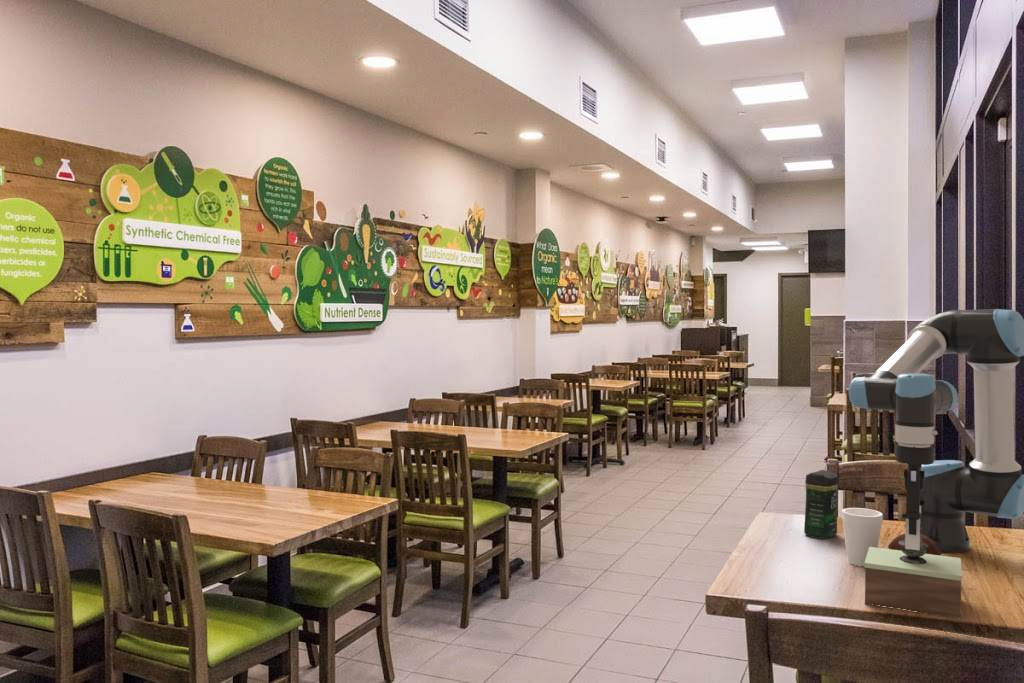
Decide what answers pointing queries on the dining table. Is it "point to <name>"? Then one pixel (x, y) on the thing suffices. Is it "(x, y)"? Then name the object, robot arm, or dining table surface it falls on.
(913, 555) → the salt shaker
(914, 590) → the box
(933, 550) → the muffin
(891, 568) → the lid
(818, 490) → the coffee jar
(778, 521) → the dining table surface
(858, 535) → the foam cup
